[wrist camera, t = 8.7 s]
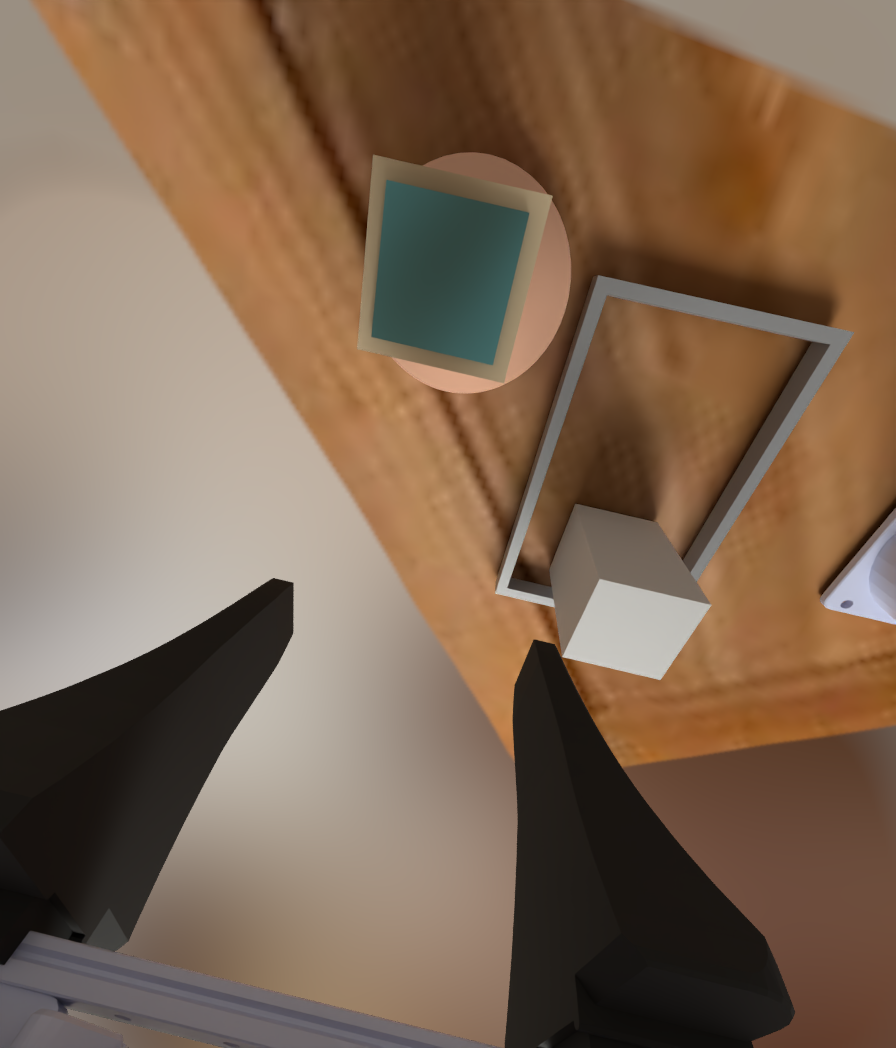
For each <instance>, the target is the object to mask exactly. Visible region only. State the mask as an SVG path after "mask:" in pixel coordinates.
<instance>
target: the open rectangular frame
mask: <svg viewBox="0 0 896 1048" xmlns="http://www.w3.org/2000/svg"><path fill="white" fill-rule="evenodd" d="M606 296H611V297H615V298H619V299H624V300H628V301H633V302H637V303H642V304H646V305H651V306H655V307H660V308H664V309H669V310H673V311H677V312H682V313H686V314H691V315H695V316H700V317H704V318H709V319H713V320H718V321H722V322H727V323H731V324H735V325H740V326H744V327H749V328H753V329H758V330H762V331H767V332H771V333H776V334H780V335H784V336H789V337H793V338H798V339H802V340H807V341H811V342H812V343H811V345H810V346H809V348H808V350H807V351H806V353H805V355H804V357H803V358H802V360H801V362H800V363H799V365H798V367H797V368H796V370H795V372H794V373H793V375H792V377H791V378H790V380H789V382H788V384H787V385H786V387H785V389H784V390H783V392H782V394H781V395H780V397H779V399H778V400H777V402H776V404H775V406H774V407H773V409H772V411H771V412H770V414H769V416H768V417H767V419H766V421H765V422H764V424H763V426H762V428H761V429H760V431H759V433H758V434H757V436H756V438H755V439H754V441H753V443H752V444H751V446H750V448H749V449H748V451H747V453H746V455H745V456H744V458H743V460H742V461H741V463H740V465H739V466H738V468H737V470H736V471H735V473H734V475H733V477H732V478H731V480H730V482H729V483H728V485H727V487H726V488H725V490H724V492H723V493H722V495H721V497H720V499H719V500H718V502H717V504H716V505H715V507H714V509H713V510H712V512H711V514H710V515H709V517H708V519H707V521H706V522H705V524H704V526H703V527H702V529H701V531H700V532H699V534H698V536H697V537H696V539H695V541H694V542H693V544H692V546H691V548H690V549H689V551H688V553H687V554H686V556H685V558H684V559H683V562H684V564H685V565H686V567H687V569H688V570H689V572H690V573H691V575H692V576H693V578H694V579H695V581H696V582H697V580H698V579H699V577H700V576H701V574H702V572H703V571H704V569H705V568H706V566H707V565H708V563H709V561H710V560H711V558H712V557H713V555H714V553H715V552H716V550H717V549H718V547H719V546H720V544H721V542H722V541H723V539H724V538H725V536H726V534H727V533H728V531H729V530H730V528H731V527H732V525H733V523H734V522H735V520H736V519H737V517H738V515H739V514H740V512H741V511H742V509H743V508H744V506H745V504H746V503H747V501H748V500H749V498H750V497H751V495H752V493H753V492H754V490H755V489H756V487H757V485H758V484H759V482H760V481H761V479H762V478H763V476H764V474H765V473H766V471H767V470H768V468H769V466H770V465H771V463H772V462H773V460H774V459H775V457H776V455H777V454H778V452H779V451H780V449H781V447H782V446H783V444H784V443H785V441H786V440H787V438H788V436H789V435H790V433H791V432H792V430H793V429H794V427H795V425H796V424H797V422H798V421H799V419H800V417H801V416H802V414H803V413H804V411H805V410H806V408H807V406H808V405H809V403H810V402H811V400H812V398H813V397H814V395H815V394H816V392H817V391H818V389H819V387H820V386H821V384H822V383H823V381H824V380H825V378H826V376H827V375H828V373H829V372H830V370H831V368H832V367H833V365H834V364H835V362H836V361H837V359H838V357H839V356H840V354H841V353H842V351H843V349H844V348H845V346H846V345H847V343H848V342H849V340H850V338H851V337H852V335H853V334H854V332H850V331H846V330H841V329H837V328H832V327H828V326H823V325H819V324H814V323H810V322H805V321H801V320H797V319H792V318H788V317H783V316H779V315H774V314H770V313H765V312H761V311H756V310H752V309H747V308H743V307H738V306H734V305H729V304H725V303H721V302H716V301H712V300H707V299H703V298H698V297H694V296H689V295H685V294H680V293H676V292H671V291H667V290H662V289H658V288H653V287H649V286H644V285H640V284H636V283H631V282H627V281H622V280H618V279H613V278H609V277H604V276H600V275H597V276H593V279H592V282H591V285H590V288H589V291H588V294H587V297H586V301H585V304H584V307H583V310H582V313H581V316H580V319H579V322H578V326H577V329H576V332H575V335H574V338H573V341H572V344H571V348H570V351H569V354H568V357H567V360H566V363H565V366H564V369H563V373H562V376H561V379H560V382H559V385H558V388H557V391H556V394H555V398H554V401H553V404H552V407H551V410H550V413H549V416H548V420H547V423H546V426H545V429H544V432H543V435H542V438H541V441H540V445H539V448H538V451H537V454H536V457H535V460H534V463H533V466H532V470H531V473H530V476H529V479H528V482H527V485H526V488H525V492H524V495H523V498H522V501H521V504H520V507H519V510H518V513H517V517H516V520H515V523H514V526H513V529H512V532H511V535H510V539H509V542H508V545H507V548H506V551H505V554H504V557H503V560H502V564H501V567H500V570H499V573H498V576H497V579H496V586H495V593H496V594H500V595H504V596H509V597H513V598H517V599H521V600H526V601H530V602H534V603H538V604H543V605H547V606H551V607H555V605H554V598H553V592H552V587H549V586H545V585H540V584H536V583H532V582H528V581H523V580H519V579H515V578H511V575H512V572H513V569H514V566H515V563H516V561H517V558H518V555H519V552H520V549H521V546H522V543H523V540H524V537H525V534H526V531H527V528H528V525H529V522H530V519H531V516H532V514H533V511H534V508H535V505H536V502H537V499H538V496H539V493H540V490H541V487H542V484H543V481H544V478H545V475H546V472H547V469H548V467H549V464H550V461H551V458H552V455H553V452H554V449H555V446H556V443H557V440H558V437H559V434H560V431H561V428H562V425H563V422H564V420H565V417H566V414H567V411H568V408H569V405H570V402H571V399H572V396H573V393H574V390H575V387H576V384H577V381H578V378H579V376H580V373H581V370H582V367H583V364H584V361H585V358H586V355H587V352H588V349H589V346H590V343H591V340H592V337H593V334H594V331H595V329H596V326H597V323H598V320H599V317H600V314H601V311H602V308H603V305H604V302H605V299H606Z"/></svg>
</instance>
